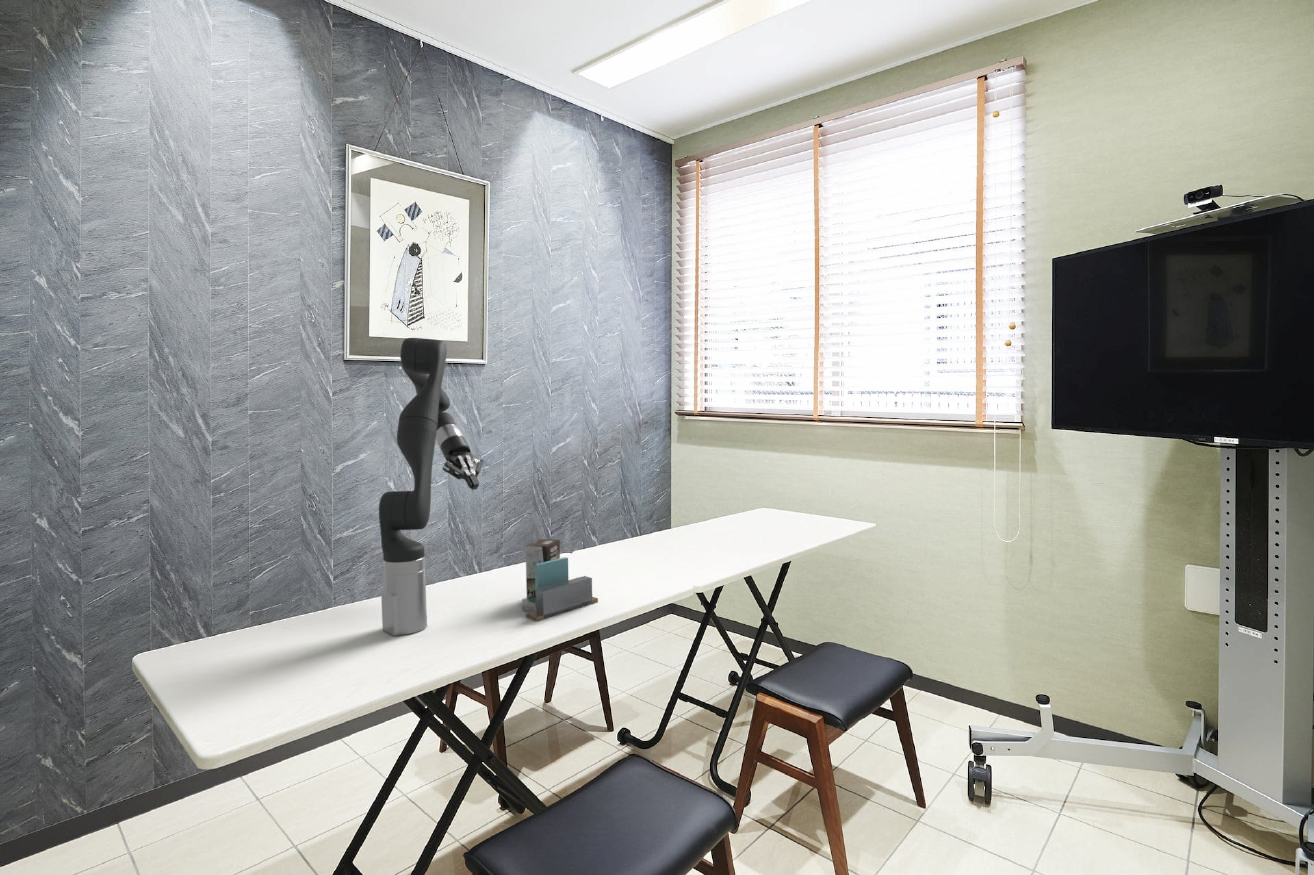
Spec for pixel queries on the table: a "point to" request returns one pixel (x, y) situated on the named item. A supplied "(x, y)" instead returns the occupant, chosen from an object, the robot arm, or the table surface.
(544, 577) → the teal flat panel
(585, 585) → the grey piece
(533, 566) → the coffee box
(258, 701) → the table surface
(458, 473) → the robot arm
